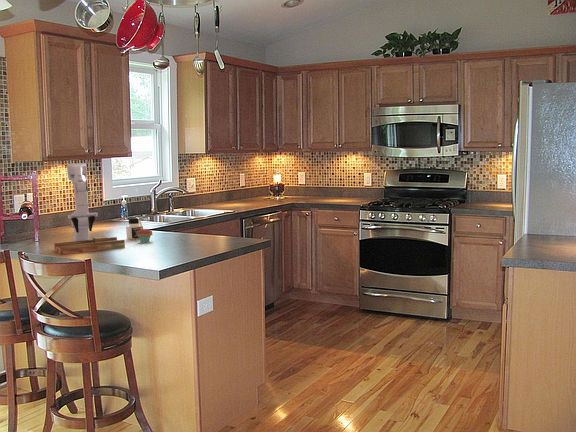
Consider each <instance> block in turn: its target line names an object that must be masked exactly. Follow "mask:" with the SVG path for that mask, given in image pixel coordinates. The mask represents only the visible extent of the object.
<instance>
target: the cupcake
mask: <svg viewBox="0 0 576 432" xmlns="http://www.w3.org/2000/svg"><path fill="white" fill-rule="evenodd" d="M140 226H141V230H139V231H138V232H137V233H136V235H137V236H138V237H139V239H138V240H139V242H140V243H149V242H150V239H151V236H153V232H152V230H151V229H149V228H143V229H142V226H143V225H142V221H140Z"/></svg>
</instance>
